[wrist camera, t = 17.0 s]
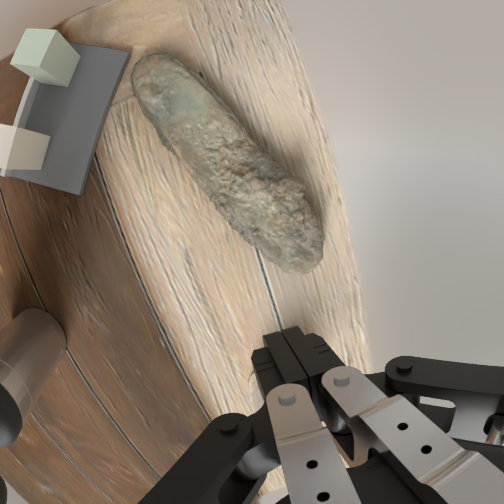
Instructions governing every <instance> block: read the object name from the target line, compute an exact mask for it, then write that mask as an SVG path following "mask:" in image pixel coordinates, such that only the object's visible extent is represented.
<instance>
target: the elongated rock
mask: <svg viewBox="0 0 504 504" xmlns="http://www.w3.org/2000/svg"><path fill="white" fill-rule="evenodd" d="M131 83H132V88H133V92H134V96H136V97H137V98H138V101H139V104H140V106H141V108H142V112H143V113H144V114H145V116H146V117H147V118H148V119H149V120H150V122H151V123H152V124H153V126H154V127H155V128H156V129H157V131H158V134H159V137H160V139H161V142H162V144H163V145H164V146H165V147H167V148H168V150H170V151H171V152H173V154H174V155H176V156H177V157H178V158H179V159H180V161H181V162H182V164H183V165H184V167H185V168H186V169H187V171H188V172H189V173H190V175H191V176H192V178H193V180H194V181H195V182H196V183H197V184H198V185H199V186H200V187H201V189H202V190H203V191H204V193H205V194H206V195H208V196H209V201H213V202H214V204H215V206H216V210H217V211H219V212H221V213H222V215H223V216H224V219H225V220H226V221H228V223H229V225H230V226H231V227H232V228H233V229H235V230H236V231H238V232H239V233H240V235H241V236H242V237H243V239H244V240H245V241H247V242H248V243H249V244H250V245H253V246H255V247H256V248H258V249H259V250H260V251H261V253H262V254H263V256H264V257H265V258H267V259H268V260H269V261H271V262H274V263H276V264H277V265H278V266H279V267H280V268H281V269H282V270H283V271H284V272H288V273H293V274H298V275H299V274H306V273H309V272H310V271H312V270H313V269H314V268H315V267H317V265H318V264H319V263H320V261H321V260H322V258H323V240H324V239H325V236H324V234H323V227H322V226H321V224H320V223H321V220H320V218H319V216H318V215H317V214H316V213H315V212H314V211H312V210H311V207H310V204H309V202H307V200H306V199H305V197H304V194H305V193H304V191H305V189H306V185H305V184H304V183H303V182H302V181H301V180H300V178H297V177H289V175H288V174H287V172H286V171H285V169H284V168H283V167H282V166H280V165H279V164H278V163H277V162H276V161H273V160H272V157H271V156H270V155H269V154H267V153H266V152H265V151H264V150H263V149H262V148H261V147H260V146H259V145H258V144H256V142H255V141H253V139H252V138H251V137H250V136H249V133H248V132H247V131H246V129H245V128H244V127H243V125H242V124H241V122H240V121H239V119H238V118H237V117H236V116H235V115H234V114H233V111H232V110H231V109H230V108H229V107H228V105H227V104H226V103H225V102H224V101H223V99H222V98H221V97H220V96H218V95H217V94H216V93H215V91H214V90H213V89H212V88H210V87H208V86H207V84H206V82H205V80H204V79H203V78H202V77H201V76H200V75H199V74H198V73H196V72H192V71H191V70H190V69H189V68H188V67H186V66H185V65H184V64H183V63H181V62H180V61H179V59H178V58H173V56H171V55H169V54H168V53H162V54H160V55H159V54H155V55H151V56H147V57H142V59H141V60H140V61H139V62H138V63H136V64H135V66H134V68H133V72H132V74H131Z"/></svg>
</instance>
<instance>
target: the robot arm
mask: <svg viewBox="0 0 504 504" xmlns="http://www.w3.org/2000/svg"><path fill="white" fill-rule="evenodd" d="M262 337H263V343H264V348H260V349H257V350H254V351H253V354H252V357H251V360H252V364H253V368H254V372H255V376H256V379H257V383H258V387H259V390H260V393H261V395H262V398H263V401H264V404H263V406H262V407H261V408H260V409H259V410H258V411H257V412H255V413H254V414H252V415H250V416H248V417H247V416H245V415H243V414H240V413H228V414H224V415H221V416H219V417H217V418H215V419H214V420H213V421H212V422H211V423H210V424H209V425H208V426H207V428H206V429H205V430H204V431H203V432H202V433H201V435H200V436H199V437H198V438H197V439H196V440H195V442H194V443H193V444H192V445H191V446H190V447H189V448H188V450H187V451H186V452H185V453H184V454H183V455H182V456H181V457H180V459H179V460H178V461H177V462H176V463H175V464H174V465H173V466H172V468H171V469H170V470H169V471H168V472H167V473H166V474H165V475H164V476H163V477H162V478H161V480H160V481H159V482H158V483H157V484H156V485H155V486H154V487H153V488H152V489H151V490H150V491H149V492H148V493H147V494H146V495H145V497H144V498H143V499H142V500H141V501H140V502H139V503H138V504H250V503H251V502H252V500H253V499H254V497H255V496H256V494H257V492H258V491H259V489H260V488H261V486H262V484H263V483H264V481H265V479H266V477H267V473H268V472H270V471H271V470H273V469H275V468H276V467H278V466H280V465H282V469H283V473H284V477H285V481H286V485H287V489H288V493H289V494H288V495H287V496H285V497H284V498H282V499H281V500H279V501H278V502H277V503H276V504H504V367H498V366H487V365H477V364H468V363H459V362H451V361H442V360H434V359H427V358H420V357H413V356H400V357H396V358H394V359H392V360H391V361H389V362H388V363H387V364H386V367H385V372H380V373H374V374H362V373H361V372H360V371H359V370H358V369H356V368H354V367H350V366H345V365H344V363H343V362H342V361H341V360H340V358H339V357H338V356H337V355H336V354H335V352H334V351H333V350H331V348H330V346H329V345H327V343H326V342H325V340H324V339H323V338H322V337H320V336H318V335H316V334H314V333H311V334H308V335H304V334H303V332H302V331H301V330H300V328H299V327H298V326H295V327H291V328H288V329H284V330H281V331H278V332H274V333H270V334H267V335H263V336H262ZM66 344H67V343H66V337H65V334H64V331H63V329H62V328H61V326H60V324H59V323H58V322H57V320H56V319H55V318H54V317H53V316H51V315H50V314H49V313H47V312H45V311H43V310H41V309H37V308H29V309H25V310H24V311H22V312H21V313H20V314H19V315H18V316H17V317H15V318H14V319H13V320H12V321H11V322H10V323H9V324H8V325H7V326H6V327H5V328H4V329H2V330H1V331H0V447H5V446H9V445H11V444H12V443H13V442H14V441H15V440H16V439H17V437H18V435H19V433H20V431H21V429H22V427H23V425H24V423H25V422H26V420H27V418H28V416H29V414H30V412H31V410H32V408H33V407H34V405H35V403H36V401H37V399H38V398H39V396H40V394H41V392H42V391H43V389H44V387H45V385H46V384H47V382H48V380H49V379H50V377H51V375H52V374H53V372H54V370H55V369H56V367H57V365H58V364H59V362H60V360H61V359H62V357H63V355H64V354H65V351H66ZM420 396H424V397H431V398H437V399H443V400H449V401H451V402H453V403H454V404H455V406H456V407H454V408H445V407H439V406H432V405H427V404H421V403H420ZM322 421H324V422H325V424H326V427H323V426H322V424H321V422H322ZM338 451H339V452H338ZM339 453H340V454H341V455H342V457H343V458H344V460H345V461H346V462H347V464H348V465H349V466H350V468H345V466H344V463H343V461H342V459H341V457H340V454H339ZM6 502H7V487H6V485H5V482H4V480H3V478H2V477H1V476H0V504H6Z"/></svg>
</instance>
